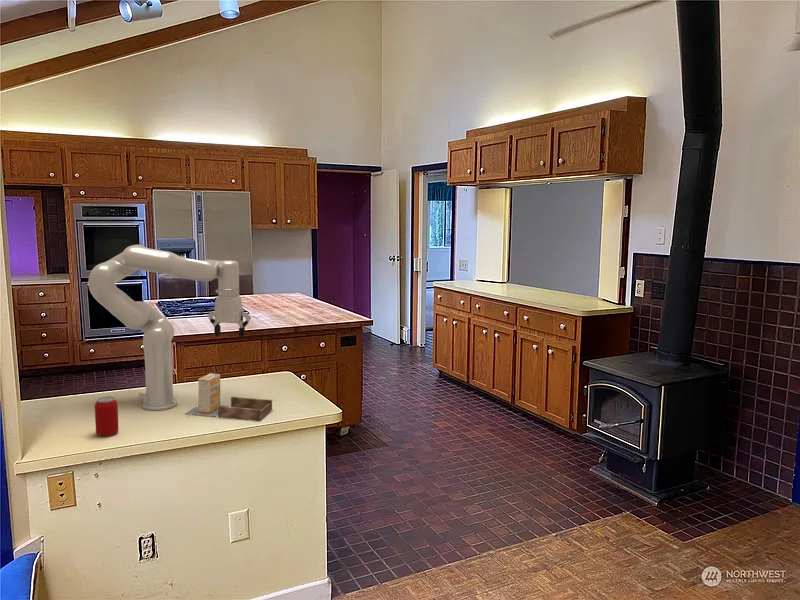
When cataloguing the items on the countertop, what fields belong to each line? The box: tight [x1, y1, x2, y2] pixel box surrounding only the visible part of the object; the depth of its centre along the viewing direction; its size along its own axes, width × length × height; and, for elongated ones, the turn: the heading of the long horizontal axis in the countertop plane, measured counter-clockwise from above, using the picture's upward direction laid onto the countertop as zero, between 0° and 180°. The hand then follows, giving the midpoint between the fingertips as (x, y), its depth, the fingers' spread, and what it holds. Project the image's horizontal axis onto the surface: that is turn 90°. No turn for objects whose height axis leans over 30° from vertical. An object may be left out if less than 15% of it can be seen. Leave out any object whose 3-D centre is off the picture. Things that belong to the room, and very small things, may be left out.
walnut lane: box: [217, 396, 273, 422], centre depth 218 cm, size 16×12×4 cm
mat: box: [184, 404, 230, 418], centre depth 220 cm, size 12×12×1 cm
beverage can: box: [94, 396, 119, 437], centre depth 194 cm, size 7×7×12 cm
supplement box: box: [197, 372, 221, 414], centre depth 219 cm, size 8×5×13 cm, turn 169°
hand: (229, 336), depth 226 cm, fingers open, 9 cm apart
